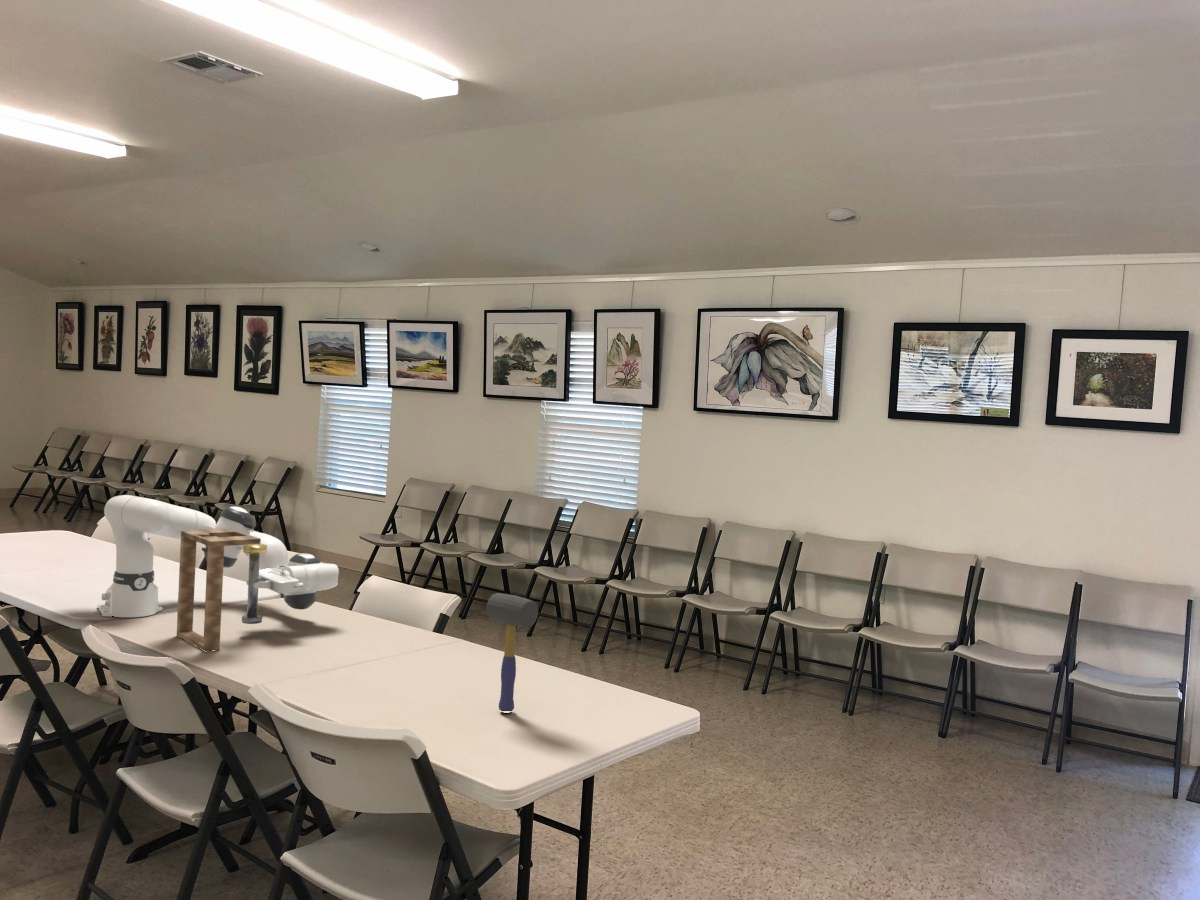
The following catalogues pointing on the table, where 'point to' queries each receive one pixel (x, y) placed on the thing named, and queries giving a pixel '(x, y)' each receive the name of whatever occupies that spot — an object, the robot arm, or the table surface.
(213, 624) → the keyhole rack
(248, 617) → the hanger bolt
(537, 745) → the table surface
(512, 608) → the rubber mallet
